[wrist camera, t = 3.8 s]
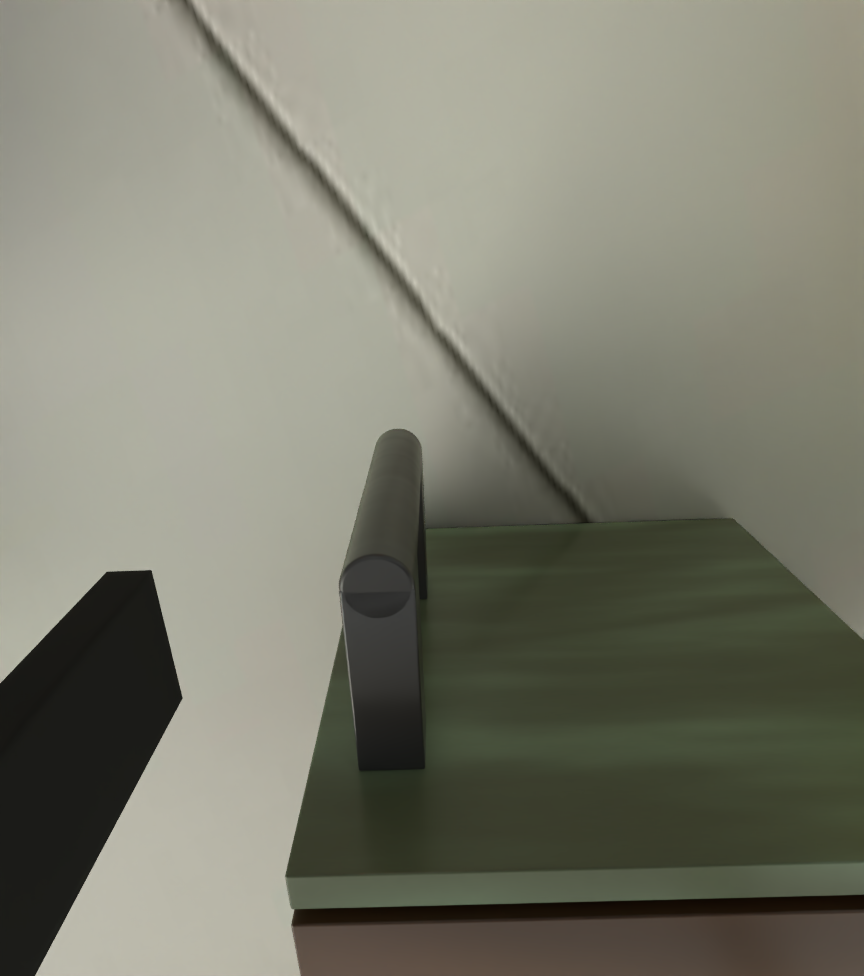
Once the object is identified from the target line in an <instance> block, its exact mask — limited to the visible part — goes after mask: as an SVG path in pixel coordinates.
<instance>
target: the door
mask: <svg viewBox="0 0 864 976" xmlns="http://www.w3.org/2000/svg"><path fill="white" fill-rule="evenodd" d="M339 590H340V591H339V595H340V604H341V613H342V622H343V626H342V631H341V635H340V639H339V644H338V648H337V653H336V657H335V661H334V666H333V670H332V674H331V679H330V683H329V687H328V692H327V696H326V700H325V705H324V709H323V714H322V718H321V722H320V727H319V731H318V735H317V740H316V744H315V748H314V753H313V757H312V762H311V766H310V770H309V775H308V779H307V783H306V788H305V792H304V796H303V801H302V805H301V809H300V814H299V818H298V823H297V827H296V831H295V836H294V840H293V844H292V849H291V853H290V857H289V862H288V866H287V871H286V875H285V878H286V884H287V889H288V895H289V900H290V905H291V909H322V908H362V907H401V906H440V905H480V904H519V903H558V902H598V901H637V900H676V899H715V898H755V897H794V896H833V895H864V640H863V639H862V638H861V637H860V636H859V635H858V634H857V633H856V632H854V631H853V630H852V629H851V628H850V627H849V626H848V625H847V624H846V623H845V622H844V621H843V620H842V619H841V618H839V617H838V616H837V615H836V614H835V613H834V612H833V611H832V610H831V609H830V608H829V607H828V606H827V605H826V604H824V603H823V602H822V601H821V600H820V599H819V598H818V597H817V596H816V595H815V594H814V593H813V592H812V591H810V590H809V589H808V588H807V587H806V586H805V585H804V584H803V583H802V582H801V581H800V580H799V579H798V578H797V577H795V576H794V575H793V574H792V573H791V572H790V571H789V570H788V569H787V568H786V567H785V566H784V565H783V564H782V563H780V562H779V561H778V560H777V559H776V558H775V557H774V556H773V555H772V554H771V553H770V552H769V551H768V550H767V549H765V548H764V547H763V546H762V545H761V544H760V543H759V542H758V541H757V540H756V539H755V538H754V537H753V536H751V535H750V534H749V533H748V532H747V531H746V530H745V529H744V528H743V527H742V526H741V525H740V524H739V523H738V522H736V521H735V520H734V519H733V518H728V519H699V520H669V521H640V522H610V523H581V524H551V525H522V526H492V527H462V528H433V529H426V528H425V506H424V485H423V463H422V447H421V444H420V442H419V440H418V438H417V437H416V436H415V435H414V434H413V433H411V432H409V431H407V430H404V429H392V430H389V431H387V432H385V433H384V434H382V435H381V436H380V438H379V439H378V441H377V443H376V446H375V450H374V454H373V457H372V461H371V465H370V468H369V472H368V476H367V480H366V483H365V487H364V491H363V494H362V498H361V502H360V506H359V509H358V513H357V517H356V520H355V524H354V528H353V532H352V535H351V539H350V543H349V546H348V550H347V554H346V558H345V561H344V565H343V569H342V572H341V576H340V580H339Z"/></svg>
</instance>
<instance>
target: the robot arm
mask: <svg viewBox="0 0 864 976" xmlns="http://www.w3.org/2000/svg"><path fill="white" fill-rule="evenodd" d="M181 700H182V694H181V690H180V686H179V682H178V678H177V674H176V669H175V665H174V661H173V657H172V653H171V649H170V645H169V641H168V636H167V632H166V628H165V624H164V620H163V616H162V612H161V608H160V604H159V599H158V595H157V591H156V587H155V583H154V579H153V575H152V571H151V570H146V571H117V572H106V573H105V574H104V575H103V576H102V578H101V579H100V580H99V581H98V582H97V583H96V584H95V585H94V586H93V587H92V588H91V589H90V590H89V591H88V592H87V593H86V594H85V595H84V596H83V597H82V598H81V600H80V601H79V602H78V603H77V604H76V605H75V606H74V607H73V608H72V609H71V610H70V611H69V612H68V613H67V614H66V615H65V616H64V617H63V618H62V619H61V620H60V622H59V623H58V624H57V625H56V626H55V627H54V628H53V629H52V630H51V631H50V632H49V633H48V634H47V635H46V636H45V637H44V638H43V639H42V640H41V641H40V642H39V644H38V645H37V646H36V647H35V648H34V649H33V650H32V651H31V652H30V653H29V654H28V655H27V656H26V657H25V658H24V659H23V660H22V661H21V662H20V663H19V664H18V666H17V667H16V668H15V669H14V670H13V671H12V672H11V673H10V674H9V675H8V676H7V677H6V678H5V679H4V680H3V681H2V682H1V683H0V976H35V974H36V973H37V971H38V969H39V967H40V965H41V963H42V961H43V959H44V958H45V956H46V954H47V952H48V950H49V948H50V946H51V944H52V943H53V941H54V939H55V937H56V935H57V933H58V931H59V929H60V927H61V926H62V924H63V922H64V920H65V918H66V916H67V914H68V912H69V911H70V909H71V907H72V905H73V903H74V901H75V899H76V897H77V896H78V894H79V892H80V890H81V888H82V886H83V884H84V882H85V881H86V879H87V877H88V875H89V873H90V871H91V869H92V867H93V865H94V864H95V862H96V860H97V858H98V856H99V854H100V852H101V850H102V849H103V847H104V845H105V843H106V841H107V839H108V837H109V835H110V834H111V832H112V830H113V828H114V826H115V824H116V822H117V820H118V819H119V817H120V815H121V813H122V811H123V809H124V807H125V805H126V803H127V802H128V800H129V798H130V796H131V794H132V792H133V790H134V788H135V787H136V785H137V783H138V781H139V779H140V777H141V775H142V773H143V772H144V770H145V768H146V766H147V764H148V762H149V760H150V758H151V756H152V755H153V753H154V751H155V749H156V747H157V745H158V743H159V741H160V740H161V738H162V736H163V734H164V732H165V730H166V728H167V726H168V725H169V723H170V721H171V719H172V717H173V715H174V713H175V711H176V710H177V708H178V706H179V704H180V702H181Z"/></svg>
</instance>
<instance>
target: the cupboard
mask: <svg viewBox="0 0 864 976" xmlns="http://www.w3.org/2000/svg"><path fill="white" fill-rule="evenodd" d="M291 926H292V932H293V937H294V942H295V948H296V953H297V958H298V963H299V969H300V974H301V976H864V895H833V896H794V897H755V898H715V899H676V900H637V901H598V902H558V903H519V904H480V905H440V906H401V907H362V908H322V909H294V914H293V919H292V924H291Z"/></svg>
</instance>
